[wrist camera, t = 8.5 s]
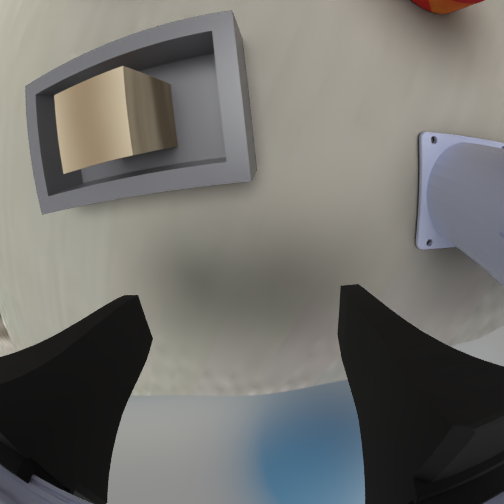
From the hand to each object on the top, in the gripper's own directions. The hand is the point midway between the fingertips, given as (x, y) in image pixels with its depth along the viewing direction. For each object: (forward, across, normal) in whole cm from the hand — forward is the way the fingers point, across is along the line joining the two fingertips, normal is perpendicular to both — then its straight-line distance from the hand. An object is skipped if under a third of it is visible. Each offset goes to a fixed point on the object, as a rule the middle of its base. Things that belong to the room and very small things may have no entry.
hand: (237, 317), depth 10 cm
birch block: (+9, +6, -8) cm, 13 cm away
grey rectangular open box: (+9, +6, -8) cm, 14 cm away
